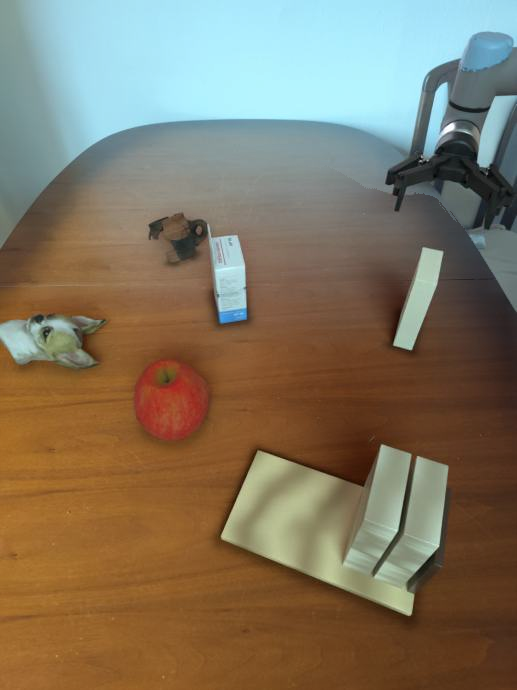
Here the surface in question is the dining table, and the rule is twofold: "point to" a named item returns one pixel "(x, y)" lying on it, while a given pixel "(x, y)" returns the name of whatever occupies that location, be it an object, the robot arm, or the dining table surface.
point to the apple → (171, 400)
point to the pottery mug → (179, 235)
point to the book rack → (348, 523)
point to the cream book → (418, 297)
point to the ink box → (228, 277)
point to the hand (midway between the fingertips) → (443, 212)
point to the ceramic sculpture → (50, 339)
